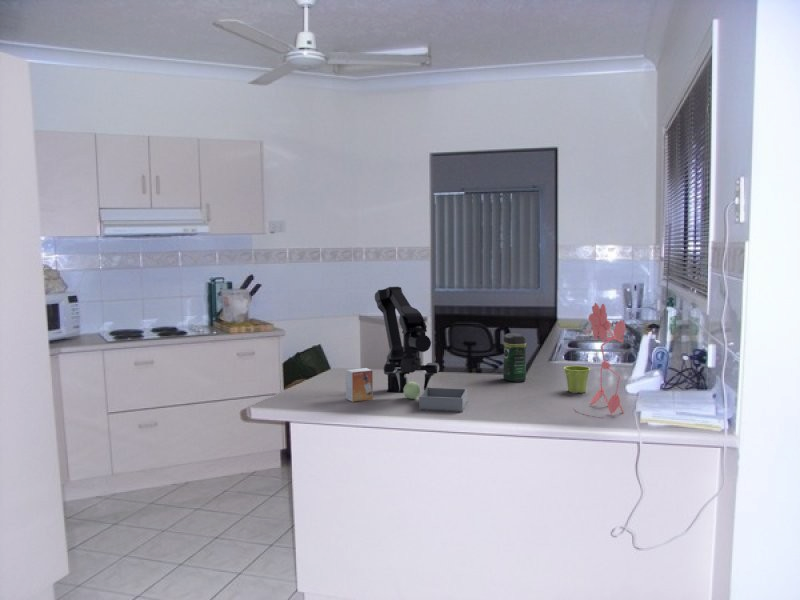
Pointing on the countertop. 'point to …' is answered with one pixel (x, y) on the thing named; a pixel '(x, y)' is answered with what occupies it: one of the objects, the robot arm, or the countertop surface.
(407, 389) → the ball
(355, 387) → the small box
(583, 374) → the plant pot
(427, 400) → the bin
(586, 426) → the countertop surface
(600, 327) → the figurine
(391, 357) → the robot arm
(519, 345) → the coffee jar
